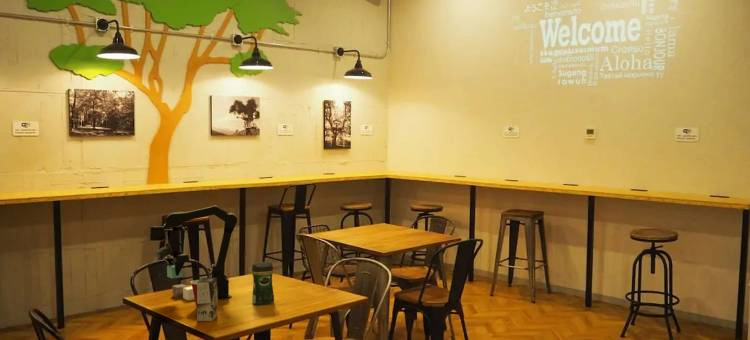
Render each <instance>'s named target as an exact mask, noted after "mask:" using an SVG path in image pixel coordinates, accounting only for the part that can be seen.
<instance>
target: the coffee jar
mask: <svg viewBox="0 0 750 340" xmlns="http://www.w3.org/2000/svg"><path fill="white" fill-rule="evenodd" d="M251 267H252V268H251V275H252V278H253V279H252V280H253V283H252V285H253V286H252V300H251V301H252V304H253V305H256V306H265V305H270V304H273V303H274V302H275V293H274V287H273V274H274V267H273V263H272V262H271V261H260V262H259V261H258V262H253V263H252V265H251Z"/></svg>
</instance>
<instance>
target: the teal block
mask: <svg viewBox="0 0 750 340" xmlns="http://www.w3.org/2000/svg"><path fill="white" fill-rule="evenodd" d="M166 274H167V275H166V277H167V278H170V279H177V278H182V277H183V268H182V269H181V271H180V273H179V275H178V276H176V273H175V266H174V265H169V266H168V265H167V266H166Z"/></svg>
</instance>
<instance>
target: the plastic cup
mask: <svg viewBox="0 0 750 340" xmlns="http://www.w3.org/2000/svg"><path fill="white" fill-rule="evenodd" d="M199 280H200V279H195V280H191V281H190V284H191V286H192V289H193V293H194V299H193V300H194V302H195V307H196V309H197V282H198V281H199Z"/></svg>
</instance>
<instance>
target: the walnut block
mask: <svg viewBox="0 0 750 340" xmlns="http://www.w3.org/2000/svg"><path fill="white" fill-rule="evenodd" d="M185 287H188V285H186V284H183V283H181V284H175V285H172V297H174V298H176V299H180V298H183V288H185Z"/></svg>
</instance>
